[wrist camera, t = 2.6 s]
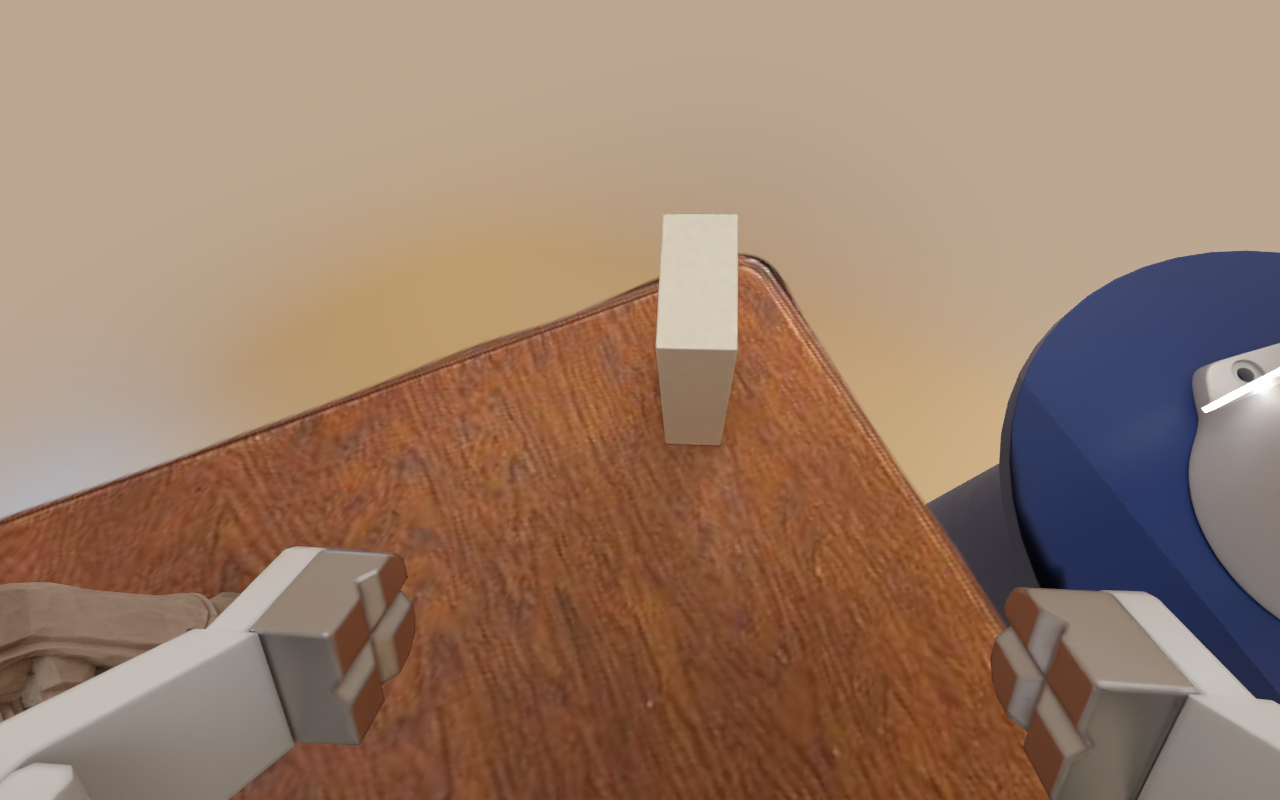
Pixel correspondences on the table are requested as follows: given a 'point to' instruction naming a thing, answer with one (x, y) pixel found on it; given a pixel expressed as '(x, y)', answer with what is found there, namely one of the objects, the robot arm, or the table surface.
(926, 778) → the table surface
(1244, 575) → the robot arm
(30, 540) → the table surface
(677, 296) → the cream rectangular block
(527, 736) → the table surface
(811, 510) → the table surface
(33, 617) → the sculpture
